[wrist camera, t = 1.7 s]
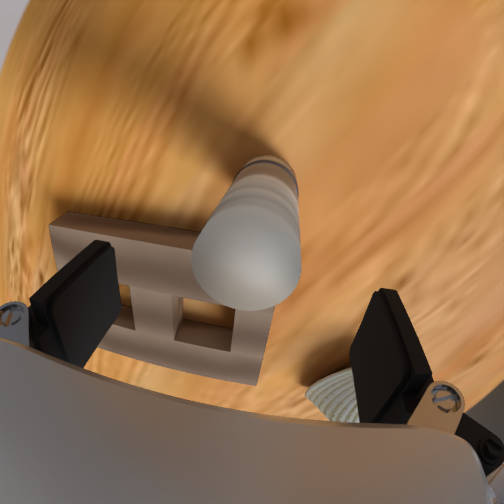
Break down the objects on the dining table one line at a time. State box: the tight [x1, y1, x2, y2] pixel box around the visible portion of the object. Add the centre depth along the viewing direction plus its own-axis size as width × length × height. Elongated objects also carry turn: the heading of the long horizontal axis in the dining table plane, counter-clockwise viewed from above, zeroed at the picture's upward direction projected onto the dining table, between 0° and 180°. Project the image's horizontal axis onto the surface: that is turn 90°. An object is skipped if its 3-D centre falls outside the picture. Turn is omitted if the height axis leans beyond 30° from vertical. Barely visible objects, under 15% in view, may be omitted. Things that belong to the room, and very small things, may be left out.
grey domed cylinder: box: [191, 155, 301, 311], centre depth 16 cm, size 4×4×12 cm
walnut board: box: [49, 212, 275, 386], centre depth 26 cm, size 14×20×3 cm
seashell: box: [305, 367, 359, 423], centre depth 28 cm, size 8×8×8 cm
